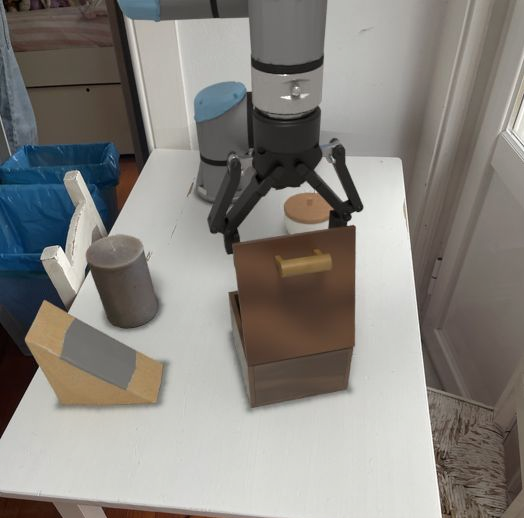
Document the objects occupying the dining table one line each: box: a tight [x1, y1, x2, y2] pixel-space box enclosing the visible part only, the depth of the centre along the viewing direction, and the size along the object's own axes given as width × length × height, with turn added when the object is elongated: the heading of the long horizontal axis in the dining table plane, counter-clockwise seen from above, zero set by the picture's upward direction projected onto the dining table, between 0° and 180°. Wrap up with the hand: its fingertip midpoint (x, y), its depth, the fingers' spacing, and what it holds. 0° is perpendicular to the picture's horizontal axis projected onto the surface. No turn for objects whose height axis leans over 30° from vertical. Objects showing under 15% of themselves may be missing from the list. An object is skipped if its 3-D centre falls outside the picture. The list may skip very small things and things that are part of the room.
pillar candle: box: [85, 233, 159, 329], centre depth 86 cm, size 10×10×15 cm
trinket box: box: [283, 192, 334, 235], centre depth 102 cm, size 11×11×9 cm
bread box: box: [227, 290, 355, 409], centre depth 78 cm, size 17×16×10 cm
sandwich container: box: [24, 299, 164, 406], centre depth 73 cm, size 9×15×15 cm, turn 90°
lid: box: [232, 224, 357, 366], centre depth 62 cm, size 17×16×6 cm
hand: (285, 262), depth 68 cm, fingers open, 13 cm apart
